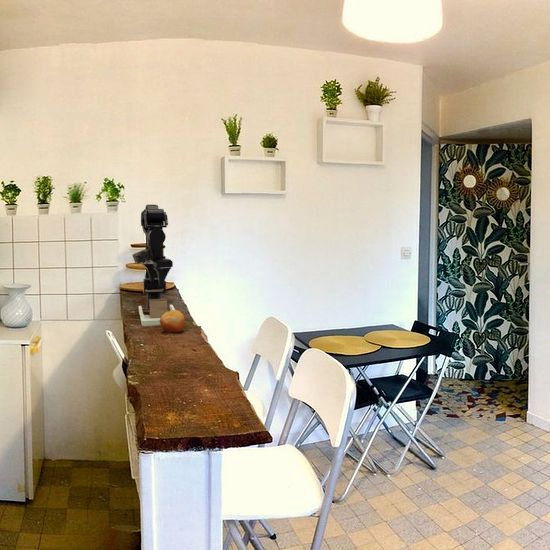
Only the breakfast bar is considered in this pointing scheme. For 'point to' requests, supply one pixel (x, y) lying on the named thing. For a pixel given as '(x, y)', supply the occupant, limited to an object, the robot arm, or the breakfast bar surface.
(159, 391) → the breakfast bar surface
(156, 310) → the walnut block
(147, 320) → the trap channel
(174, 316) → the fruit
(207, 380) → the breakfast bar surface
